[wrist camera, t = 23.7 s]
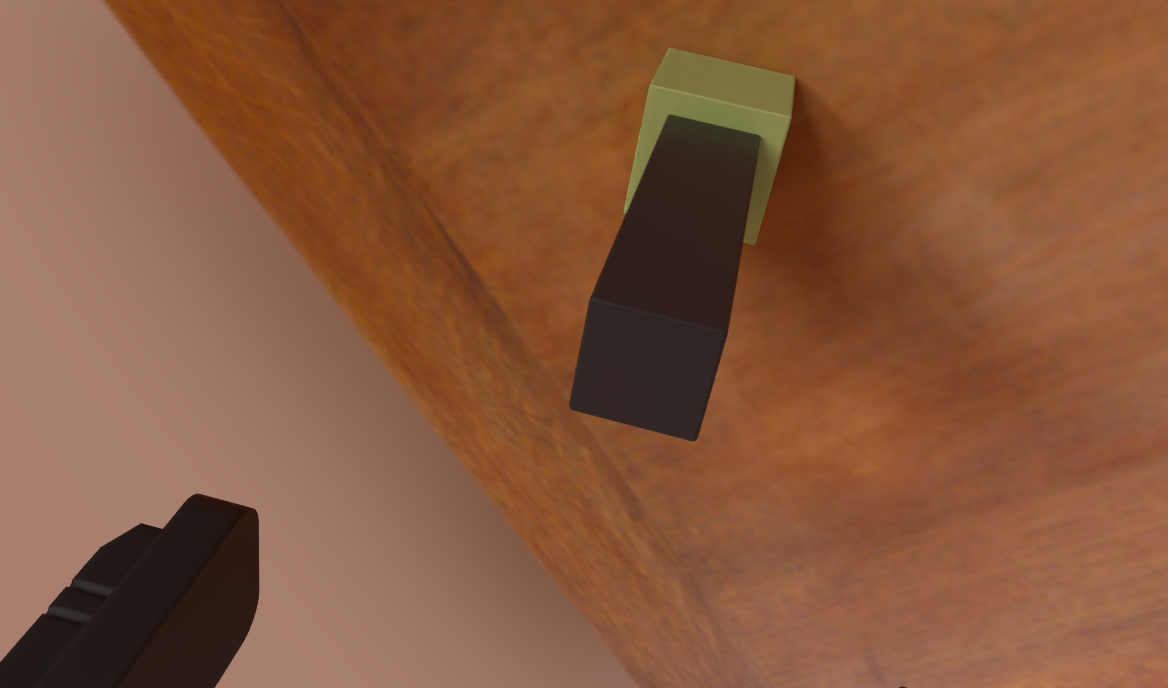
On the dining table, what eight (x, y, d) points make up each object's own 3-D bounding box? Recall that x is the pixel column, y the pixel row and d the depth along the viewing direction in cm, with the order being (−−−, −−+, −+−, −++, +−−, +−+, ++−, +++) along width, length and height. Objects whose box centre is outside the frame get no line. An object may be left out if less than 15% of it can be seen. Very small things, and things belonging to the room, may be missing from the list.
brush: (643, 165, 30) (531, 428, 19) (668, 46, 29) (560, 258, 17) (762, 194, 30) (720, 478, 19) (796, 75, 28) (772, 310, 17)
